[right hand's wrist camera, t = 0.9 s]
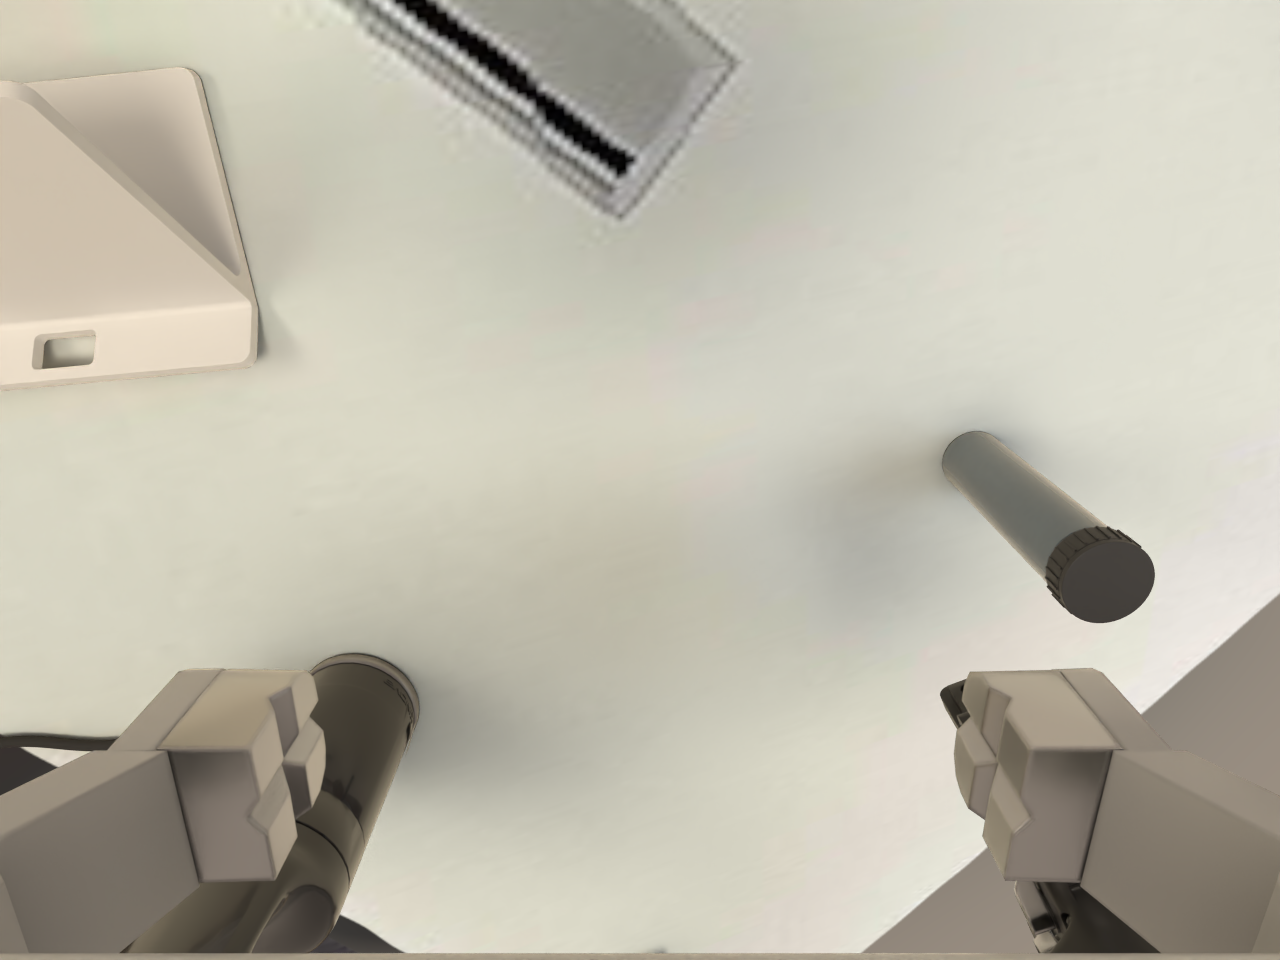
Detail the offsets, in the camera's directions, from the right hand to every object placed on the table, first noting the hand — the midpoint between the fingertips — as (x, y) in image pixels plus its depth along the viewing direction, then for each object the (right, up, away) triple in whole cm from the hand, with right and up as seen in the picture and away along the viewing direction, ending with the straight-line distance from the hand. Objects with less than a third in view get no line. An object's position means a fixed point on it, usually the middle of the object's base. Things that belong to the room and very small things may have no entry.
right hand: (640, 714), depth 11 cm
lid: (+24, -2, +33) cm, 40 cm away
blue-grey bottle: (+24, +4, +50) cm, 55 cm away
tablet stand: (-38, +18, +44) cm, 61 cm away
